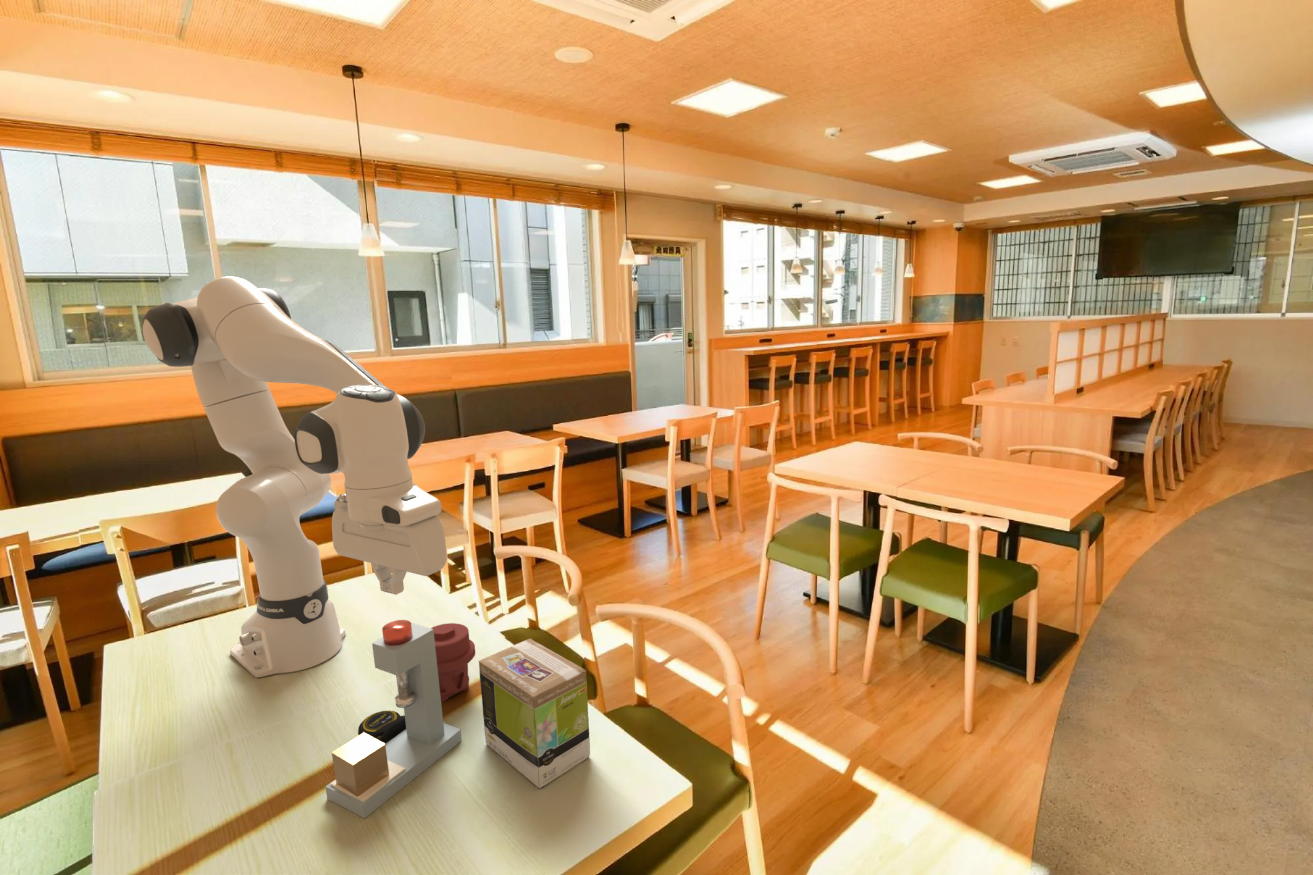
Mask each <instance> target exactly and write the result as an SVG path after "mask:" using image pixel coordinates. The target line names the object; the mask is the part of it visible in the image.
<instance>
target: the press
mask: <svg viewBox="0 0 1313 875" xmlns="http://www.w3.org/2000/svg"><path fill="white" fill-rule="evenodd" d="M411 626H412V635H413V637H412V639H411V640H410V641H408V642H406V643H404V644H401V645H396V646H389V645H386V644H384V640H383V636H382V637H380V638H379V639H377V640H375V641H373V642H372V643H371V644H372V645H371V646H372V647H371V648H372V654H373V660H374V668H375V669H378V670H379V671H382V672H385V673H388V674H392V675H394V676H395V677H396V676H400V675H401V674H403V673H405V672H406V671H408V670H409V678H410V687H411V691H413V692H414V693H415V699H416V701H415V703H414V704H413V705H411V706H409V707H406V708H403V712H404V713H403V715H405V722H406V730H404V731H403V732H401V733H400V734H399V735H397V736H396V737H394V738H393V739H392V740H390V741H389V742H387V743H386V744H385V745H386V753H387V761H388V769H389V775H388V776H386V777H385V778H384V779H382V780H381V781H379V782H378V783H377V784H375V785H374V786H372V787H371V788H369V789H368V790H367V791H365V792H364V793H362V794H361V795H359V796H358V797H357V796H355V795H354V794H352V793H350V792H349V791H347V790H346V789H344V788H343V787H341V786H339V785H338V784H336V779H333V781H331V782H330V783H328V784H326V786H325V787H324V788H325V791H326V792H325V793H326V798H327V799H328V801H331V802H332V803H335V804H336V805H338V806H340V807H342V808H344V809H345V810H348V811H349V812H352V813H353V814H355V815H357V816H359V817H361V818H363V819H366V818H367V817H368V816H370V815H371V814H372V813H374V811H376V810H377V809H378V808H380V807H381V806H382V805H384V804H385V803H386V802H387V801H388V800H390V799H391V798H392V797H394V796H395V795H396V794H397V793H398V792H400V791H401V790H402V789H404V788H405V787H406V786H407V785H409V783H411V782H412V781H413V780H415V779H416V778H417V777H418V776H420V775H421V774H422V773H423V772H425V771H426V770H427V769H429V768H430V767H431V766H432V765H433V764H434V763H436V762H437V761H438V760H440V759H441V758H442V757H444V756H445V755H446V754H447V753H448V752H450V751H451V750H452V749H454V748H455V747H456V746H457V745H459V743H461V742H462V741H463V738H462V736H463V735H462V730H461V728H458V727H455V726H454V725H451V724H448V723H446V722H444V718H443V717H444V715H443V707H442V702H441V696H440V687H439V678H438V668H437V659H436V650H435V640H434V631H433V629H431V628H432V627H428V626H424V625H420V624H418V623H415V622H411Z"/></svg>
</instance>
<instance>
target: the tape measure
mask: <svg viewBox="0 0 1313 875" xmlns="http://www.w3.org/2000/svg"><path fill="white" fill-rule="evenodd" d="M404 730H406V722H405V714H403V715H400V714H399V713H398V712H397V711H394V710H381V711H377V712H374V713H372V714H370V715H368V716H367V717H366V718H365V719H364V720H362V722H361V723H360V724H359V726H358V729H357V736H359V735H361V734H362V733H366V734H368V735H370V736H372V737H373V738H375V739H377V740H379V741H381V742H383V743H385V744H386V743H387V742H389V741H390V740H392V739H393V738H394V737H396V736H397V735H399V734H400V733H401V732H403V731H404Z"/></svg>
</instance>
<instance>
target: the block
mask: <svg viewBox="0 0 1313 875" xmlns="http://www.w3.org/2000/svg"><path fill="white" fill-rule="evenodd" d="M331 755H332V756H331V757H332V764H333V771H334V777H335V779H336V784H338V785H339V786H341V787H343V788H344V789H346V790H347V791H349V792H350V793H352V794H354V795H355V796H357V797H358V796H359V795H361V794H362V793H364V792H365V791H367V790H368V789H369V788H371V787H372V786H374V785H375V784H377V783H378V782H379V781H381V780H382V779H384V778H385V777H386V776H388V775H389V769H388V761H387V753H386V745H385V743H383V742H381V741H379V740H377V739H375V738H373V737H372V736H370V735H368V734H366V733H362V734H361V735H359V736H358V735H357V736H356V737H354V738H353V739H351V740H349V741H348V742H346V743H345V744H343V745H342V746H339V747H338V748H336V749H335V750H333V751H332V752H331ZM335 779H334V780H335Z"/></svg>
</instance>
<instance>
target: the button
mask: <svg viewBox="0 0 1313 875" xmlns="http://www.w3.org/2000/svg"><path fill="white" fill-rule="evenodd" d="M411 623H412V622H411V621H410V620H407V619H396V620H394V621H391V622H388V623H386V624H385V625H384V626H382V627H381V628H382V629H381V630H382V637H383V640H384V644H386V645H389V646H396V645H401V644H404V643H406V642H408V641H410V640H411V639H412V637H413V635H412V626H411ZM395 678H396V686H397V687H396V688H397V695H395V698H394V700H395V706H396V707H397V708H400V709H404V708H406V707H409V706H411V705H413V704H414V703H415V701H416V699H415V693H414V692H413V691H411V687H410V678H409V670H408V671H406V672H405V673H403V674H401V675H400V676H396V675H395Z"/></svg>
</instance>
